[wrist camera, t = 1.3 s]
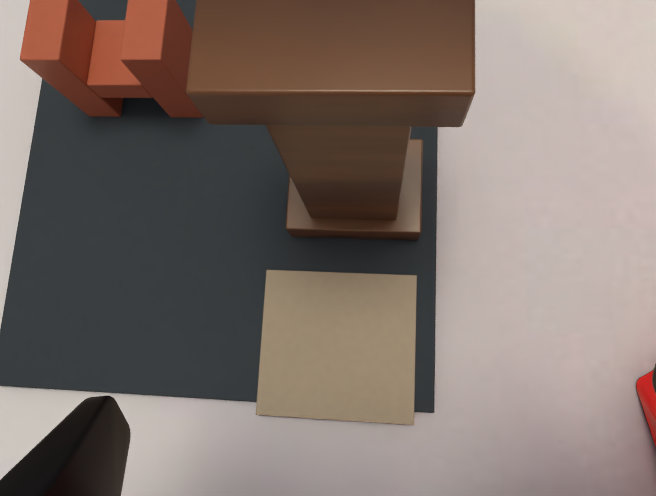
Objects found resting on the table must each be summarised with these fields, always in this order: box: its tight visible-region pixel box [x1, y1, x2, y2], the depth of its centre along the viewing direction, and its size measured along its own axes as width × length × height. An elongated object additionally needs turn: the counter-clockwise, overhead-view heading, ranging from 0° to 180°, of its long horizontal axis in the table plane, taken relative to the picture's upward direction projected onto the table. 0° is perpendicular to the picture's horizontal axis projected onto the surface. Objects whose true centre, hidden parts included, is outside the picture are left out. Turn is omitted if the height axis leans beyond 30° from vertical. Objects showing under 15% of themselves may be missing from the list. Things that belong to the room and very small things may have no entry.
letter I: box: [186, 0, 475, 240], centre depth 17 cm, size 4×6×13 cm
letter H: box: [20, 0, 203, 118], centre depth 22 cm, size 3×6×5 cm, turn 87°
